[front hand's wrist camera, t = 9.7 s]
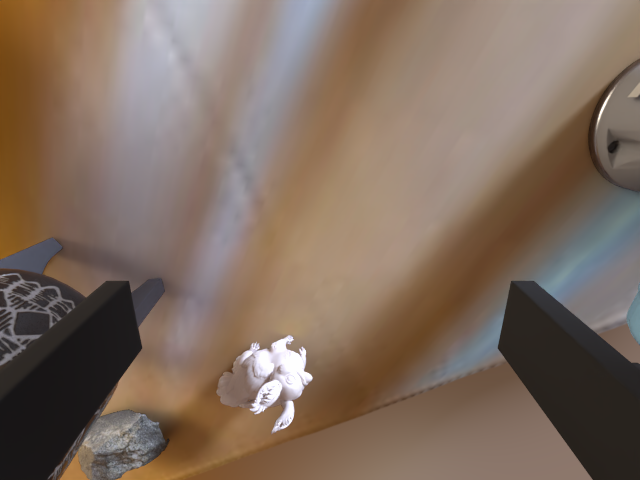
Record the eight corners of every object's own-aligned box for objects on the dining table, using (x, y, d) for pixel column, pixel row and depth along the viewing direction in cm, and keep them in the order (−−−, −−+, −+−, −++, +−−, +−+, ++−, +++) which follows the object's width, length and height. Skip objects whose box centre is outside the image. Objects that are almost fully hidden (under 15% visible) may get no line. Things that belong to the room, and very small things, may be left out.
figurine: (326, 352, 52) (328, 426, 40) (245, 402, 55) (224, 484, 43) (291, 312, 50) (282, 378, 38) (208, 366, 53) (176, 442, 41)
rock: (155, 398, 55) (135, 435, 49) (184, 437, 58) (168, 478, 52) (79, 422, 57) (50, 462, 50) (111, 460, 59) (87, 501, 53)
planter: (-10, 275, 48) (-362, 461, 23) (93, 188, 44) (-200, 299, 19) (104, 374, 53) (-82, 609, 29) (205, 305, 49) (89, 508, 25)
